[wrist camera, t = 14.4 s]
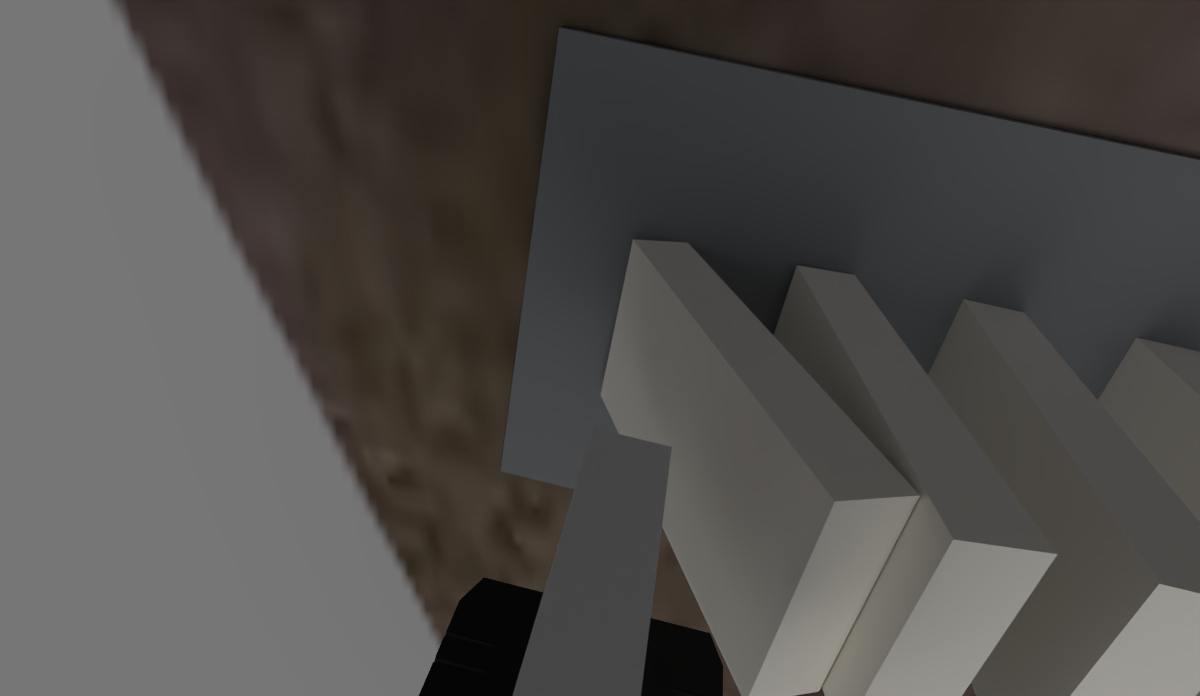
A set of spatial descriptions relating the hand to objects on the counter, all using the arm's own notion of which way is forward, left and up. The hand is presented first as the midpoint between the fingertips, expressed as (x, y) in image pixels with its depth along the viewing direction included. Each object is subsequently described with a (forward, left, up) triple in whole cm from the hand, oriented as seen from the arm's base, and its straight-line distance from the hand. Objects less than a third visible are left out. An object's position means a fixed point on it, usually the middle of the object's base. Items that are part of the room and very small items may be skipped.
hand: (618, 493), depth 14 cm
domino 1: (0, +4, -8) cm, 9 cm away
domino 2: (0, +9, -8) cm, 12 cm away
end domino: (0, 0, -8) cm, 8 cm away
